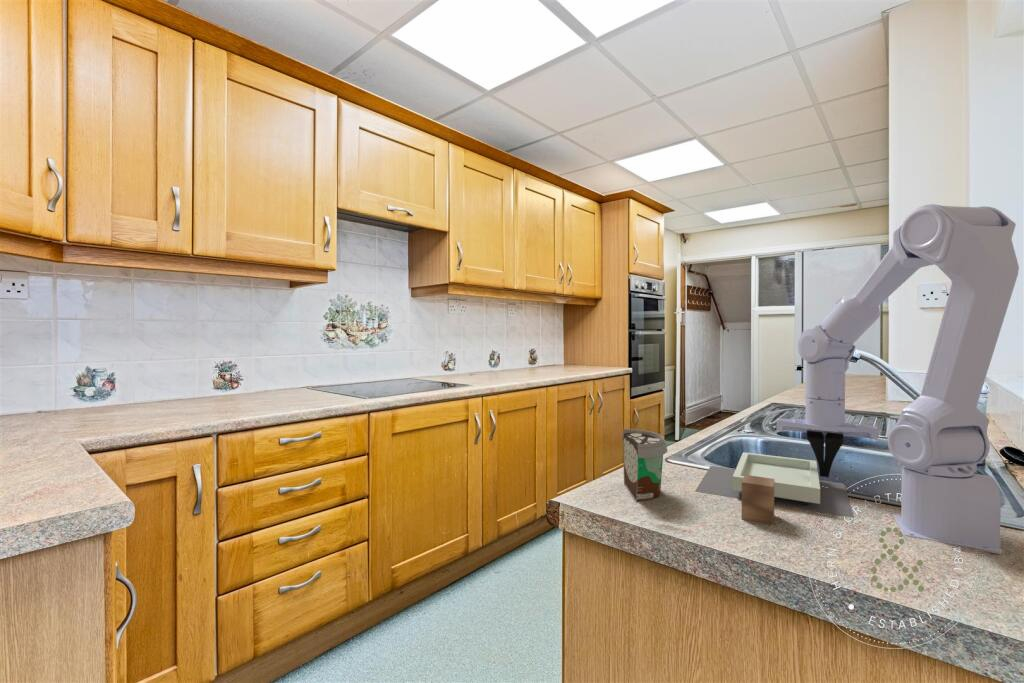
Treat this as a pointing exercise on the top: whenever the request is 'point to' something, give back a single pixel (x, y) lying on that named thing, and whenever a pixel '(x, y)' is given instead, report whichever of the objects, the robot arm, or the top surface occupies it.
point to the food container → (643, 463)
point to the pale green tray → (782, 476)
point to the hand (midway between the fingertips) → (824, 475)
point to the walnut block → (758, 499)
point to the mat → (830, 498)
